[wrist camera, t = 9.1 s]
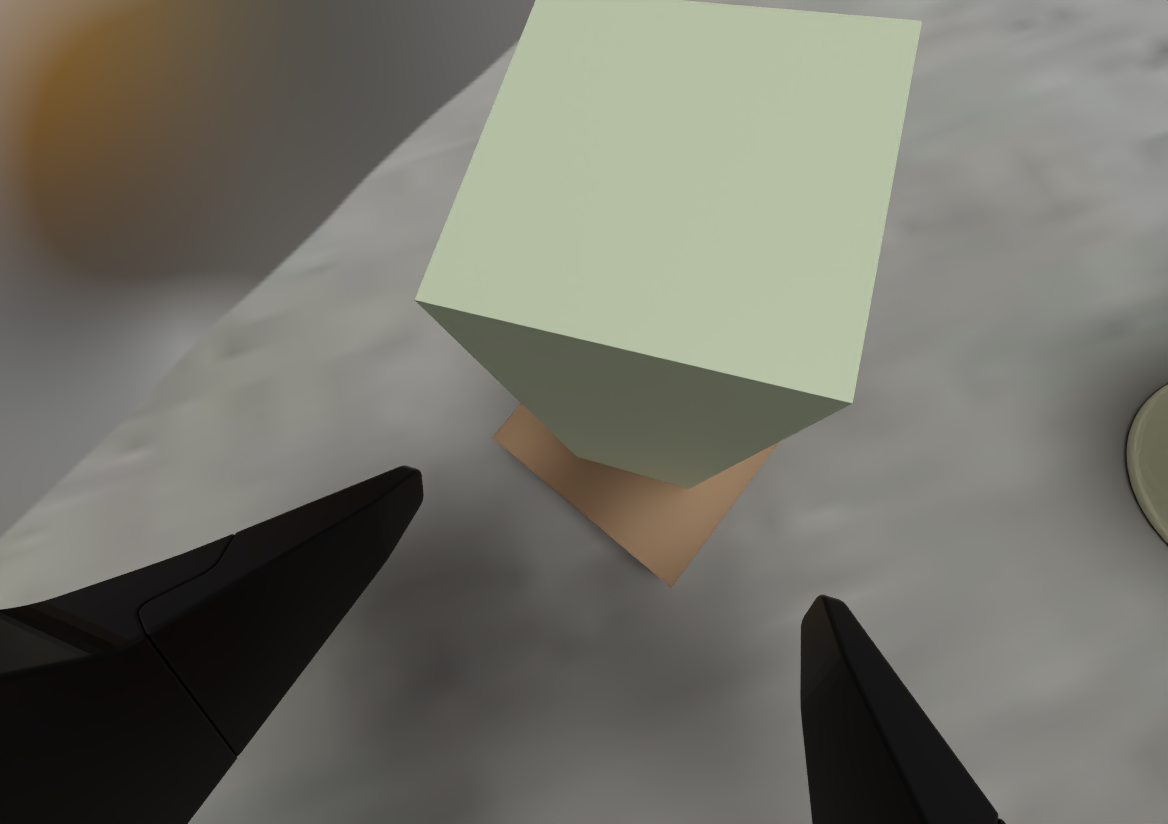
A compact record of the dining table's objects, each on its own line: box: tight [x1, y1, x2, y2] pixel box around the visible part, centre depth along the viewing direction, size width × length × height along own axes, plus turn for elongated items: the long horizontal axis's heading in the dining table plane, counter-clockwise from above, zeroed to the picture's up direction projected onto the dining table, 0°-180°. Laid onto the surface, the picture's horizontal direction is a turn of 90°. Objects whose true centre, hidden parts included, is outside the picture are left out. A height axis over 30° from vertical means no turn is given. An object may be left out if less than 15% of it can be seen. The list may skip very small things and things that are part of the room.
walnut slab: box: [493, 403, 778, 587], centre depth 19 cm, size 9×9×3 cm
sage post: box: [415, 0, 922, 489], centre depth 11 cm, size 4×4×13 cm
